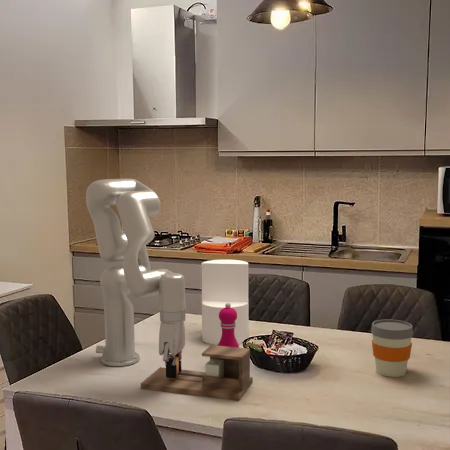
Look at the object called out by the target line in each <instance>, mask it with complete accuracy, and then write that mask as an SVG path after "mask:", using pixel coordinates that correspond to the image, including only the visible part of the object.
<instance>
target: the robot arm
mask: <svg viewBox="0 0 450 450" xmlns="http://www.w3.org/2000/svg"><path fill="white" fill-rule="evenodd" d="M85 203H86V204H85V205H86V207H87V210H88V212H89V215H90V217H91V220H92V223H93V226H94V232H95V233H94V234H95V237H96V243H97V248H98V253H99V256H100V258H101V260H102V261H103V262H104V263H107V264H108V263H118V262H122V264H121V265H115V266H112V267H108V268H105V270H104V271H102V273H101V274H100V278H99V284H100V290H101V294H102V299H103V309H104V310H103V311H104V313H103V314H104V341H105V344H104V345H105V346H104V345H100V344H99V345H96V346H95V353H96V354H102V356H101V358H100V359H101V360H100V361H101V363H102V364H103V365H105V366H110V367H125V366H131V365H135V364H136V363H138V362H139V360H140V354H139V353H138V352H136V348H135V345H136V344H135V313H134V312H135V311H134V305H133V303H132V301H131V300H130V298H129V297H128V295H129V294H130V295H133V296H134V297H136V298H139V299H140V298H142V299H144V298H147V297H152V296H153V297H154V296H157V295H159V321H160V324H159V335H158V338H159V339H158V355H160V356H162V361H163V362H164V365H165V368H166V377H167V378H176V377H177V369H176V365H175V356H176V357H178V358H179V372H181V370H182V357H183V356H182V353H183V349H185V346H186V327H185V321H186V279H185V276H184V275H183V274H181V273H178V272H173V271H171V270H169V269H166V268H159V269H152V270H151V263H150V259H149V254H148V249H147V245H148V244H150V243H151V242H152V241H153V240H154V238H155V231H154V229H153V226H152V222H151V220H150V217H154V216H155V217H156V216H157V215H158V214H159V212H160V211H161V206H162V205H161V200H160V197H159V196H158V195H157V192H155V191H154V190H153V189H152V188H150V187H148V186H147V185H145V184H143V182H141V181H139V180H137V179H135V178H105V179H98V180H95V181H93V182H91V183H90V184H89V185H88V187H87V189H86V192H85ZM110 206H115V207H116V210H117V213H116V212H115V211H114V209H112V208H111V207H110ZM121 225H122V226H121ZM122 227H123V228H122ZM169 357H172V359H171V358H169Z"/></svg>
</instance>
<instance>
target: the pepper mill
mask: <svg viewBox="0 0 450 450" xmlns="http://www.w3.org/2000/svg"><path fill="white" fill-rule="evenodd" d="M225 307H226V308H223V309H221V310H220V312H219V319H220V320H221V323H220V324H221V325H220V327H221V328H222V336H221V339H220V342H219V344H218V345H217V346H226V347H236V348H240V346H239V345H240V344H238V343H237V340H236V338H235V335H234V328H235V327H236V325H235V324H236V322H235V320H236V319H237V312H236V310H235V309H233V308H231V305H230V303H226V304H225Z"/></svg>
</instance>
